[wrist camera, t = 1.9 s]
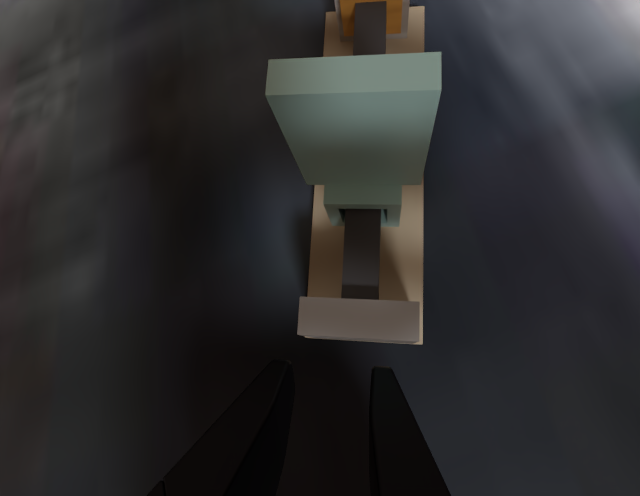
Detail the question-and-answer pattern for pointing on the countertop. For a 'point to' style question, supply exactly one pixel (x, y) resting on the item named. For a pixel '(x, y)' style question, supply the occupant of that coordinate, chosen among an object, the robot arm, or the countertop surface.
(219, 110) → the countertop surface
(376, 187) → the grey-green notched block
